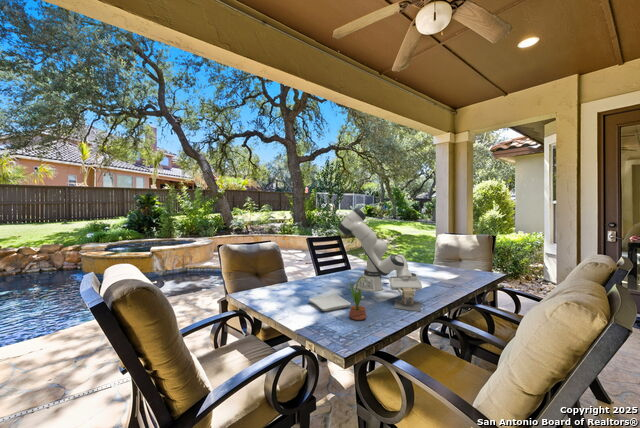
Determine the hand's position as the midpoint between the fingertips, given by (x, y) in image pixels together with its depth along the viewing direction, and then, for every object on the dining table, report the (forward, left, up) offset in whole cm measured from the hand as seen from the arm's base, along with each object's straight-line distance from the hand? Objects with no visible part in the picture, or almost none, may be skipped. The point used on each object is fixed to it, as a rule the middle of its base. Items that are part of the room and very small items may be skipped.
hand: (408, 295), depth 183 cm
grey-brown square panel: (0, +1, -7) cm, 7 cm away
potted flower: (-26, -29, -7) cm, 40 cm away
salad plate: (-48, -15, -8) cm, 51 cm away
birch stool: (0, +1, -5) cm, 5 cm away
